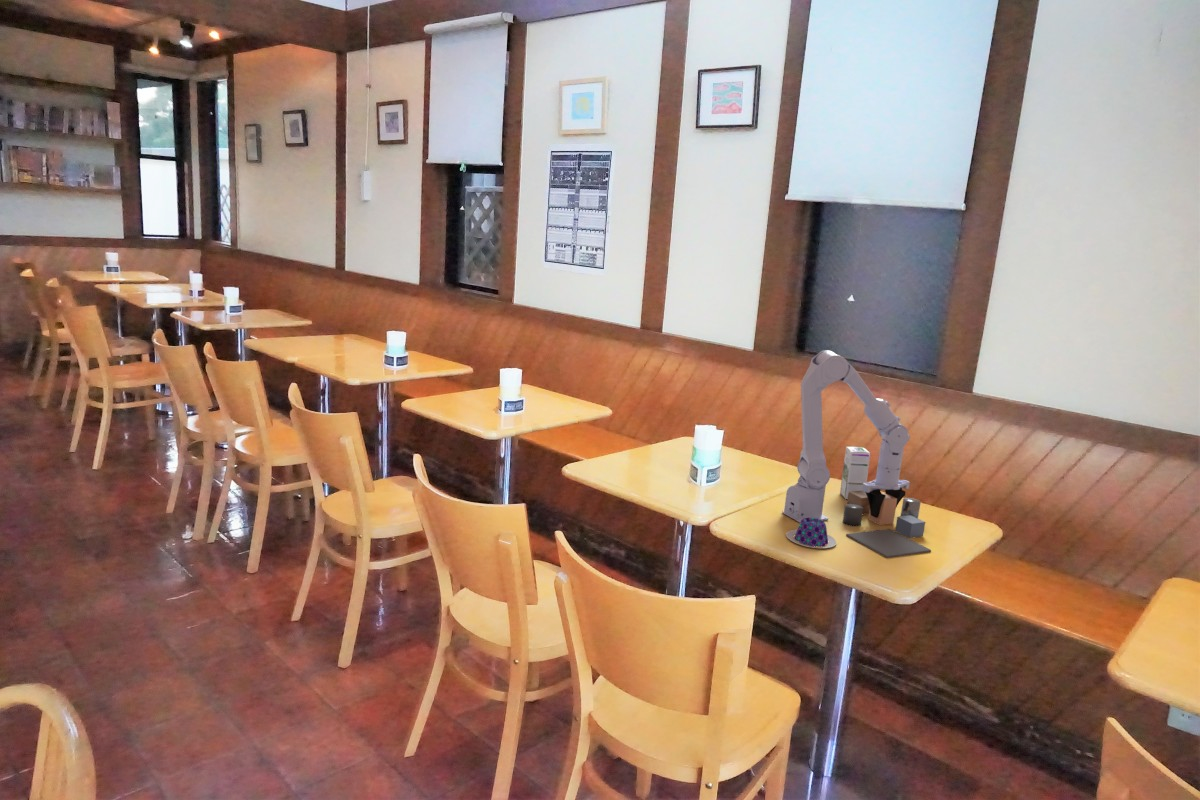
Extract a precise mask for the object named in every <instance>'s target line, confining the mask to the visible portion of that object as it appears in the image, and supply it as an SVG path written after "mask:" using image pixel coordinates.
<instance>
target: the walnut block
mask: <svg viewBox="0 0 1200 800" xmlns="http://www.w3.org/2000/svg"><path fill="white" fill-rule="evenodd" d="M846 504H855V505H859V506H861V507H863V514H864V515H869V510H870V505H869V500H868V497H867V495H866V493H865V491H852V492H849V494H848V500H847V502H846Z"/></svg>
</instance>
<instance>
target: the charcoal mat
mask: <svg viewBox="0 0 1200 800" xmlns="http://www.w3.org/2000/svg"><path fill="white" fill-rule="evenodd" d="M845 537H848V538H849V539H851V540H853V541H855V542H857V543H858V544H861V545H862V546H864V547H866V548H867V549H869V548H870V550H871V551H874V552H876V553H877V554H879V555H880V556H882V555H883V557H884V558H886V559H890V558H897V557H903V556H904V555H905V556H911V554H912V555H918V553H919V554H924V553H925V552H926V553H931V552H932V549H930V548H928V547H926V546H924V545H922V544H921V543H918V542H916V541H914V540H912V539H911V538H908V537H906V536H904V535H902V534H900V533H898V532H896V531H894V530H893V529H891V528H884V529H878V530H877V529H876V530H869V531H868V530H867V531H859V532H852V533H851V532H850V533H846V534H845Z"/></svg>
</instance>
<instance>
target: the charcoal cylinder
mask: <svg viewBox="0 0 1200 800" xmlns="http://www.w3.org/2000/svg"><path fill="white" fill-rule="evenodd" d="M862 514H863V507H861V506H859V505H855V504H847V503H846V504H845V505H844V510H843V517H842V523H843V524H844V523H845V524H844V525H846V524H847V525H846V526H849V525H850V527H860V526H861V525H862V520H863V515H862Z"/></svg>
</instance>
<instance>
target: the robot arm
mask: <svg viewBox="0 0 1200 800" xmlns="http://www.w3.org/2000/svg"><path fill="white" fill-rule="evenodd" d="M837 381H840V382H842V383H845V384H847V385H848V386H849V388H850V389H851V391H853V392H854V394H855V395H856V396H857V397H858V399H859V400H860V401H861V402H862V403H863V404H864V409H863V413H864V414H865V415H866V417H867V418H868V420H869V421H870V422H871V423H872V424H873V426H874V427H875V429H876V430H877V431H878V435H879V437H881V442H880V447H879V454H878V462H877V468H876V474H875V479H873V480H871V481H867V483H863V486H862V491H865V493H866V495H867V497H868V500H869V505H870V513H871V516H873V517H875V518H878V516H879V513H880V508H881V505H882V502H883V500H884V498H885V496H886V495H884V494H882V493H883V492H881V491H884V493H886V494H888V495H890V496H893V497H895V498H897V503H896V508H897V507H898V505H899V504H900V502H901V501H902V500H903V499H904V498H905V496H906V491H905V490H907V489H908V490H909V489H910V485H911V484H910V483H911V482H910V481H909V480H906V479H900V473H901V468H902V461H903V456H904V450H905V445H907V444H908V443H909V441H910V439H911V436H910V435H909V430H908V429H907V427H906V426H904V424H901V422H900V421H901V418H900V417H899V416H897V415H896V414H895V413H894V412H893V411H892V409H891V408H890V407H891V404H890V403H889V401H887V400H884V399H883V398H876V396H875V395H874V394H873V393H872V391H871V389H870V388H869V387H868V386H867V383H866V382H865V381H864V380H863V378H862V377H861V375H860V374H859V372H858V371H857V370H856V369H855V367H854V366H852V365H851V364H850V363H849V362H848V360H847V359H846V357H844V356H842V355H839V354H836V352H834V351H832V350H829V349H827V350H826V349H825V350H821V351H819V353H817V354H816V355H814V356H813V357H812V358H811V360H810V364H809V367H808V368H807V370H806V372H805V374H804V375H803V378H802V379H801V381H800V399H801V400H800V401H801V402H800V403H801V405H800V406H801V426H802V427H801V428H802V429H801V430H802V449H801V451H800V458H799V461H798V463H797V472H798V473H799V476H798V479H797V483H795V484H794V485H791V486H788V487H787V490H786V495H785V502H784V508H783V509H784V510H782V511H781V513H782V514H784V515H786V516H787V517H789V518H791V519H792V520H794V521H797V522H798V523H800V522H801V520H802V519H803V518H808V517H809V518H817V519H819V520H822V521H828V520H829V517H827V516H825V515H824V514H823V508H824V502H825V494H826V487H827V485H828V483H829V482H830V478H831V472H830V471H829V468H828V466H827V460H826V456H825V454H824V452H825V451H824V443H823V442H824V440H823V438H824V437H823V404H822V400H823V399H822V392H823V390H825V389H826V388H827V387H828V386H829V385H831V384H833V383H835V382H837ZM903 489H905V490H903Z"/></svg>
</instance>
